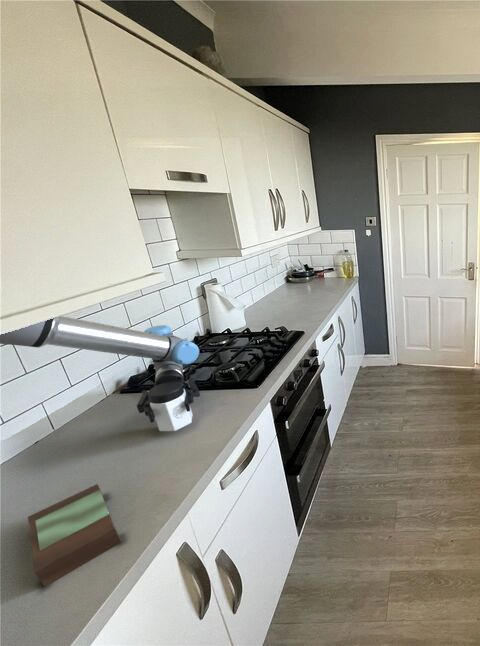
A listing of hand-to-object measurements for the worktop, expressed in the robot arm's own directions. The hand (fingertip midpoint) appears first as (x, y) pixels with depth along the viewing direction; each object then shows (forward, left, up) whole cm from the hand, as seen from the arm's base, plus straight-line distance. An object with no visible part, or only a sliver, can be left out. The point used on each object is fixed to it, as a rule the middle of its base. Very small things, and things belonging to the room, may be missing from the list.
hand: (169, 412), depth 97 cm
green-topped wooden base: (+19, -24, -10) cm, 32 cm away
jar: (-5, +1, -7) cm, 8 cm away
